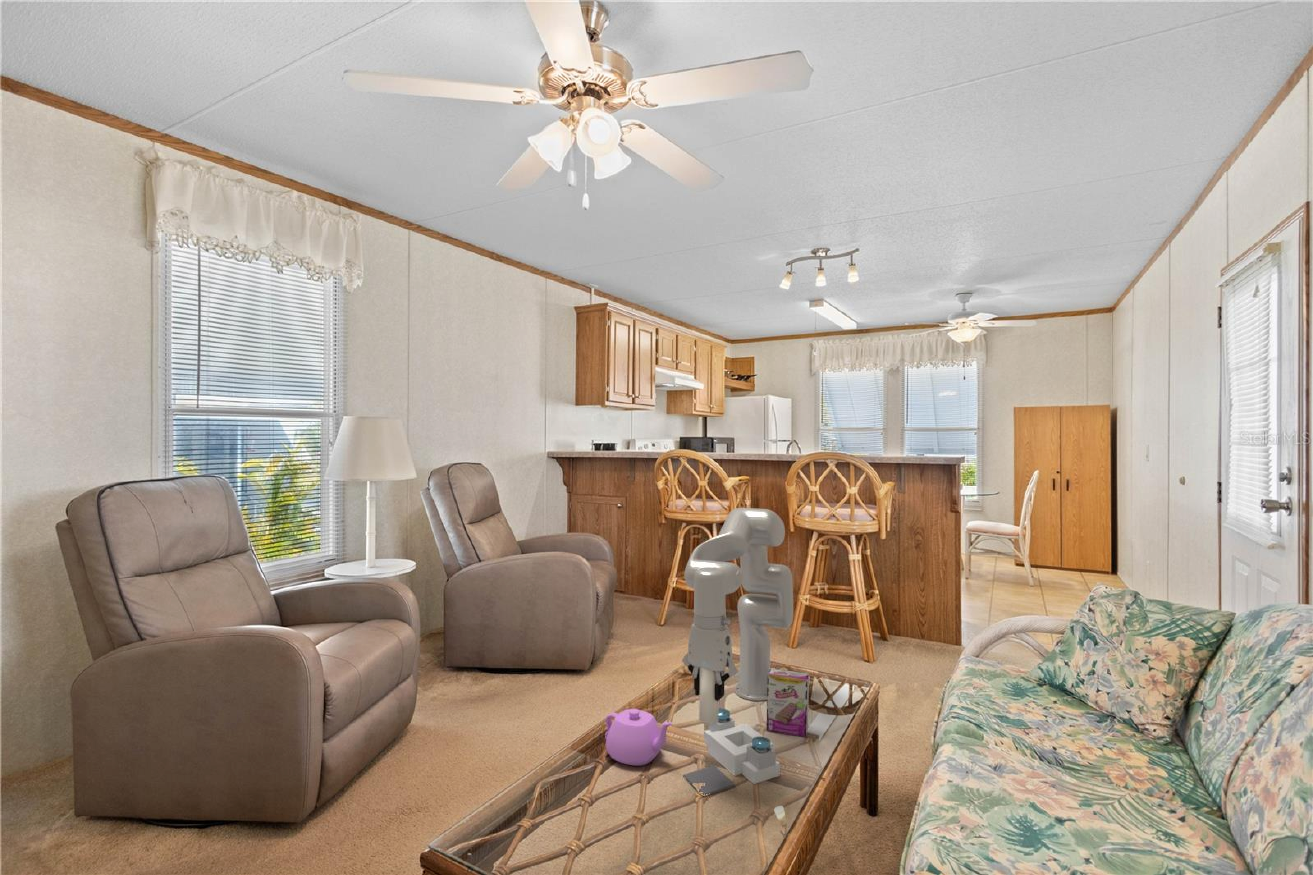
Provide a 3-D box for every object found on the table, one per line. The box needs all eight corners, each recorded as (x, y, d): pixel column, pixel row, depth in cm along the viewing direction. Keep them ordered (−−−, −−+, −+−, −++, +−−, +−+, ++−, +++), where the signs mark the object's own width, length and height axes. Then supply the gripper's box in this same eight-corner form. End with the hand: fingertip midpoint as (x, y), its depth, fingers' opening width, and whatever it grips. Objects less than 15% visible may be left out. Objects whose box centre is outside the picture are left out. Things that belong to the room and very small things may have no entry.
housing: (697, 743, 164) (697, 719, 164) (734, 733, 170) (734, 710, 170) (747, 786, 145) (747, 759, 145) (786, 773, 151) (786, 747, 150)
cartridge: (704, 713, 150) (705, 652, 149) (721, 717, 147) (722, 656, 147) (695, 721, 145) (696, 658, 145) (712, 726, 143) (713, 662, 143)
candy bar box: (766, 732, 171) (766, 673, 170) (768, 723, 176) (769, 667, 175) (807, 738, 167) (807, 679, 167) (808, 730, 172) (809, 672, 172)
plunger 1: (710, 728, 166) (710, 710, 166) (723, 725, 168) (723, 707, 168) (719, 736, 162) (719, 717, 162) (732, 732, 164) (733, 713, 164)
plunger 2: (748, 759, 151) (748, 739, 151) (762, 754, 153) (762, 734, 153) (759, 768, 147) (759, 747, 147) (773, 763, 149) (773, 743, 149)
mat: (682, 777, 149) (682, 774, 149) (713, 767, 153) (713, 765, 153) (703, 797, 141) (703, 794, 141) (734, 786, 145) (734, 783, 145)
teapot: (591, 759, 157) (591, 713, 156) (618, 735, 168) (618, 693, 168) (660, 780, 147) (660, 732, 147) (683, 754, 159) (684, 709, 159)
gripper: (748, 622, 145) (748, 698, 145) (686, 610, 154) (685, 682, 154) (735, 631, 138) (735, 711, 139) (671, 618, 147) (670, 693, 147)
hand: (709, 695), depth 146 cm, fingers closed on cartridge, 4 cm apart
